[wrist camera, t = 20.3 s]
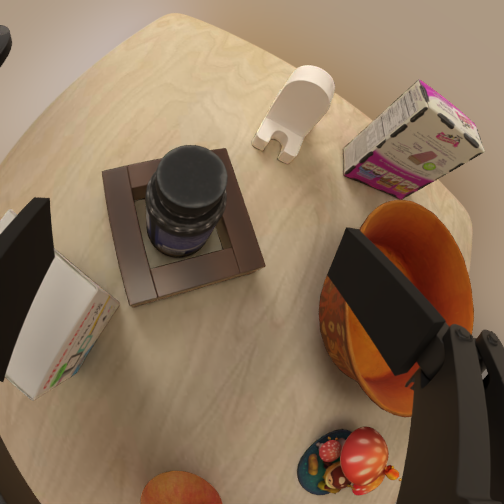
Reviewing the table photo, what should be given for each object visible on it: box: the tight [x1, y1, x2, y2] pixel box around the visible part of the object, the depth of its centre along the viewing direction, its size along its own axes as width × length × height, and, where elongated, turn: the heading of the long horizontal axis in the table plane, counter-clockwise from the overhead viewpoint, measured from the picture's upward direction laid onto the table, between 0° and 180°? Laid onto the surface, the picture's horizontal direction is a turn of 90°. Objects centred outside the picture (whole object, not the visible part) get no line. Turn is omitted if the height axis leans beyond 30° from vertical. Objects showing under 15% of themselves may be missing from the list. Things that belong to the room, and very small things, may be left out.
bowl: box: [319, 200, 474, 417], centre depth 29 cm, size 21×21×10 cm
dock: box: [102, 148, 265, 307], centre depth 27 cm, size 12×12×3 cm
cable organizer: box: [252, 65, 335, 164], centre depth 31 cm, size 5×10×10 cm, turn 158°
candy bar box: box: [343, 79, 485, 200], centre depth 31 cm, size 11×5×16 cm, turn 82°
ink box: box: [0, 209, 120, 401], centre depth 18 cm, size 8×8×12 cm
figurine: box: [297, 427, 402, 495], centre depth 24 cm, size 12×9×8 cm
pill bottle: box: [145, 145, 228, 257], centre depth 23 cm, size 6×6×11 cm
